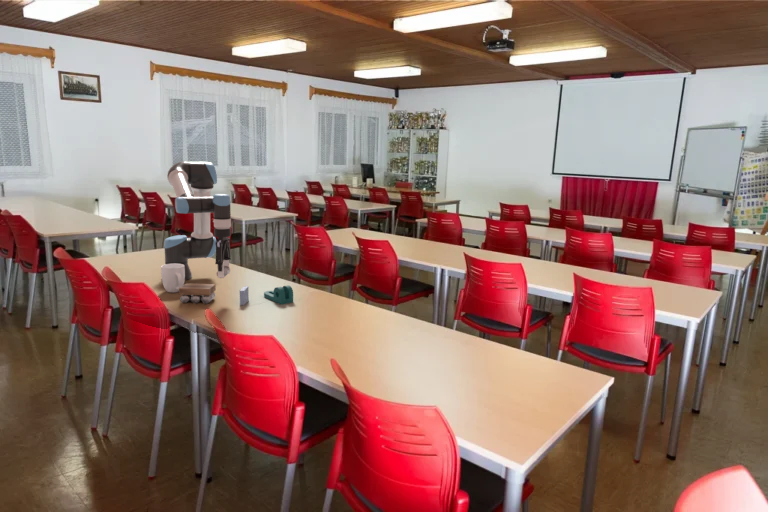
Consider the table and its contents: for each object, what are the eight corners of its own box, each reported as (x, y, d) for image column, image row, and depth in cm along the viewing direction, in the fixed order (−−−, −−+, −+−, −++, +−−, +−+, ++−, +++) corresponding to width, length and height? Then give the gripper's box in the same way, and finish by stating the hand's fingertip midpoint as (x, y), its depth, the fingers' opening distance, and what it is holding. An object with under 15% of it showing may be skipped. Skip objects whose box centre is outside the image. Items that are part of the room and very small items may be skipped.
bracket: (293, 302, 247) (293, 286, 246) (281, 305, 243) (281, 289, 241) (273, 294, 260) (273, 279, 258) (261, 296, 255) (261, 281, 254)
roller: (222, 274, 245) (221, 266, 244) (230, 274, 245) (229, 266, 244) (216, 278, 237) (216, 269, 236) (225, 278, 237) (224, 269, 236)
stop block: (244, 300, 247) (244, 286, 246) (248, 300, 247) (248, 286, 246) (239, 305, 240) (239, 290, 238) (244, 305, 240) (243, 290, 238)
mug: (192, 293, 256) (191, 267, 253) (170, 296, 248) (169, 270, 246) (180, 286, 266) (179, 262, 264) (158, 290, 259) (157, 265, 256)
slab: (186, 289, 247) (186, 283, 246) (215, 290, 247) (215, 284, 246) (179, 294, 238) (179, 288, 237) (209, 295, 238) (209, 289, 238)
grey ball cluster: (186, 298, 247) (186, 290, 246) (215, 299, 247) (215, 291, 247) (180, 302, 239) (179, 294, 239) (210, 304, 239) (209, 295, 239)
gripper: (221, 224, 246) (222, 270, 251) (206, 230, 226) (208, 280, 231) (236, 224, 246) (237, 270, 251) (223, 231, 226) (225, 281, 231)
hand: (223, 275), depth 241 cm, fingers closed on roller, 8 cm apart
